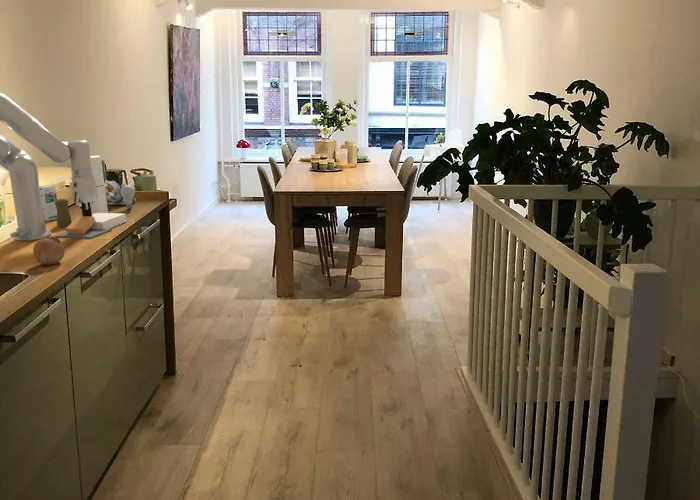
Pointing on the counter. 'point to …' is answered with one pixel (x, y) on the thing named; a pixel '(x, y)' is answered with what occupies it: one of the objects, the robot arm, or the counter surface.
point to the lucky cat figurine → (114, 193)
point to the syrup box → (48, 202)
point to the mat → (85, 234)
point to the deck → (107, 220)
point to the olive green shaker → (63, 213)
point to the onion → (48, 250)
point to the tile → (80, 225)
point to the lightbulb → (128, 195)
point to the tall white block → (99, 186)
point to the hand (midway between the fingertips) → (87, 219)
